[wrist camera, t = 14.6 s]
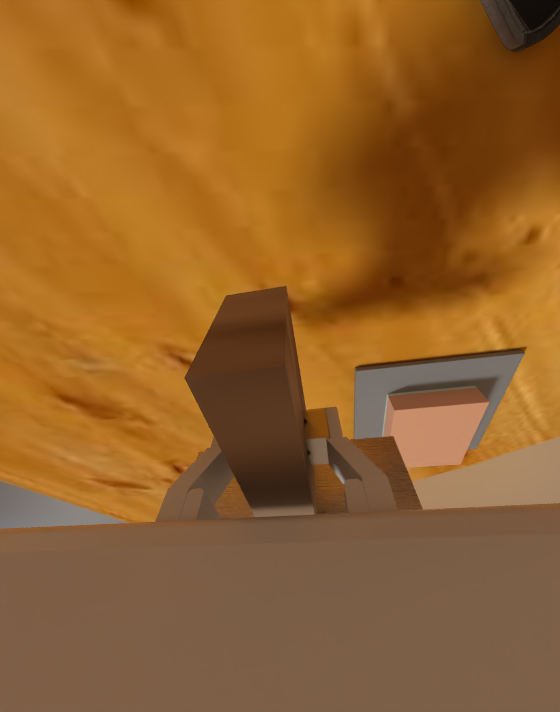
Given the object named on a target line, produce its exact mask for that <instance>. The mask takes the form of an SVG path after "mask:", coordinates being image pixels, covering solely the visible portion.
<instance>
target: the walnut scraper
mask: <svg viewBox="0 0 560 712" xmlns="http://www.w3.org/2000/svg"><path fill="white" fill-rule="evenodd" d="M185 380H186V382H187V384H188V386H189V388H190V390H191V392H192V394H193V396H194V397H195V399H196V401H197V403H198V405H199V407H200V409H201V411H202V413H203V415H204V417H205V419H206V421H207V423H208V425H209V427H210V429H211V431H212V433H213V435H214V437H215V439H216V441H217V443H218V445H219V447H220V449H221V451H222V453H223V455H224V457H225V459H226V461H227V463H228V465H229V467H230V469H231V471H232V472H233V474H234V477H233V479H232V480H231V482H230V483H229V484H228V486H227V487H226V489H225V490H224V492H223V493H222V495H221V496H220V498H219V499H218V501H217V502H216V504H215V505H214V507H215V508H216V510H217V511H218V513H219V514H220V516H221V517H222V519H229V518H250V517H272V516H294V515H316V514H338V513H345V494H344V484H343V483H342V481H341V480H340V479H339V477H338V476H337V475H336V474H335V472H334V471H333V470H332V468H331V467H330V466H329V464H314V465H310V463H309V457H308V450H307V446H306V441H305V428H304V426H305V421H304V410H306V407H305V400H304V394H303V388H302V382H301V375H300V369H299V363H298V357H297V350H296V344H295V338H294V332H293V325H292V319H291V313H290V307H289V300H288V294H287V288H286V286H284V287H278V288H271V289H265V290H258V291H252V292H246V293H239V294H233V295H226V297H225V299H224V301H223V303H222V305H221V307H220V309H219V311H218V313H217V315H216V317H215V319H214V321H213V323H212V325H211V327H210V329H209V331H208V333H207V335H206V337H205V339H204V341H203V342H202V344H201V346H200V348H199V350H198V352H197V354H196V356H195V358H194V360H193V362H192V364H191V366H190V368H189V370H188V372H187V374H186V376H185ZM350 441H351V442H352V443H353V444H354V445H355V446H356V447H357V448H359V449H360V450H361V451H362V452H363V453H364V454H365V455H366V456H367V457H368V458H369V459H370V460H371V461H372V462H373V463H374V464H375V465H376V466H377V467H378V468H379V469H380V470H381V471H382V472H383V473H384V474H385V475H386V476H387V477H388V480H389V483H390V487H391V490H392V493H393V496H394V499H395V502H396V505H397V508H398V511H404V510H423V508H422V506H421V504H420V501H419V499H418V496H417V494H416V491H415V489H414V486H413V484H412V481H411V479H410V476H409V474H408V471H407V469H406V466H405V464H404V461H403V459H402V456H401V454H400V451H399V449H398V446H397V444H396V441H395V439H394V436H388V437H376V438H364V439H351V440H350ZM202 453H203V452H199V453H198V456H197V459H198V458H199V457H200V455H201V454H202Z"/></svg>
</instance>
